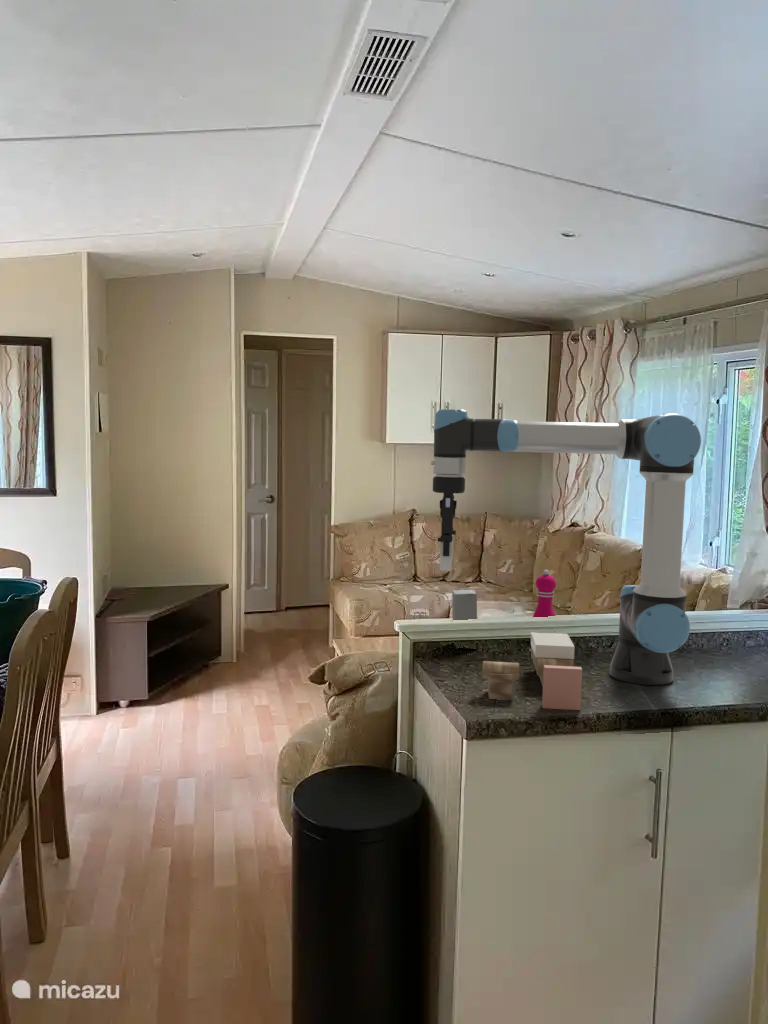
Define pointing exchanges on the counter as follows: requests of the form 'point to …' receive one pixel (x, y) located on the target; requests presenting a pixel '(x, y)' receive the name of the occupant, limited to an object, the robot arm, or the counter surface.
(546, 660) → the roller bed
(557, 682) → the block
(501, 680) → the pedestal
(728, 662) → the counter surface
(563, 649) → the slab
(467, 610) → the skincare box
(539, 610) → the pepper mill
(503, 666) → the roller
